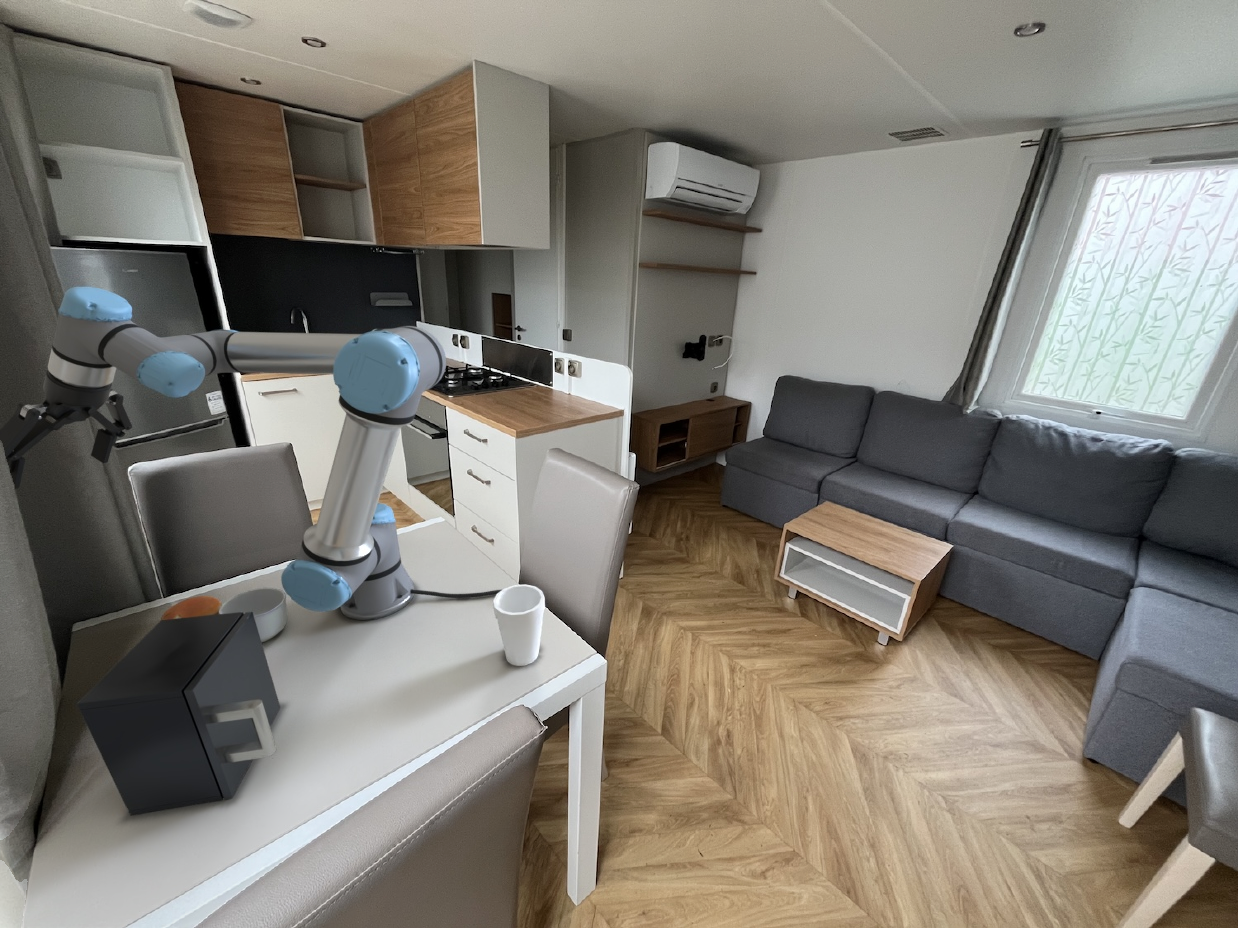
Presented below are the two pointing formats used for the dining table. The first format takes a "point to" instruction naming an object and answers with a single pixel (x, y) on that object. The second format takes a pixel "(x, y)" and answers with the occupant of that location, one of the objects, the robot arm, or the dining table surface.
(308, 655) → the dining table surface
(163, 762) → the fridge
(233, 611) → the teacup
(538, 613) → the foam cup
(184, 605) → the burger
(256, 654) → the fridge door
